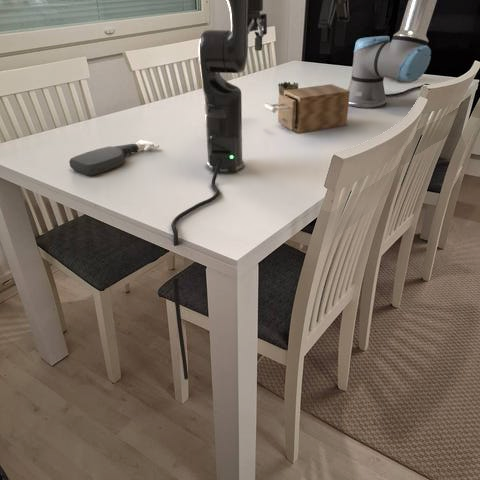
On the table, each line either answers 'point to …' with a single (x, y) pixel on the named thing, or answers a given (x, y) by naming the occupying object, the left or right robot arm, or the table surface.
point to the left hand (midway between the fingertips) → (250, 52)
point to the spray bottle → (106, 157)
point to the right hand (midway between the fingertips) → (332, 49)
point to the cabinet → (320, 107)
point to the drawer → (286, 111)
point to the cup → (287, 87)
